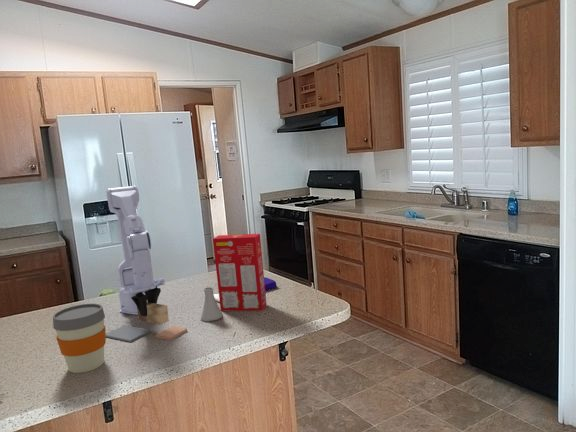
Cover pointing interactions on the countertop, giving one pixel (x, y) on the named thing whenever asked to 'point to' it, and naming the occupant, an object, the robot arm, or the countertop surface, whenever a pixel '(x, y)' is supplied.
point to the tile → (171, 333)
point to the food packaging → (240, 272)
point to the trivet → (127, 333)
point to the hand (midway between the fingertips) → (148, 313)
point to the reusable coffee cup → (81, 336)
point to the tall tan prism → (155, 314)
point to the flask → (210, 306)
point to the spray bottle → (268, 286)
